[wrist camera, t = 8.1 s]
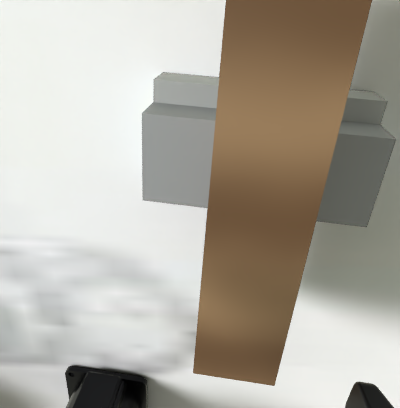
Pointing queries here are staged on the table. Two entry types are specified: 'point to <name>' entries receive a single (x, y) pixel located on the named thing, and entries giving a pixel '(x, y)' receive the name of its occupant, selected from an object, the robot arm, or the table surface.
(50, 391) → the table surface
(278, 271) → the walnut rod
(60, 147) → the table surface
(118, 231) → the table surface
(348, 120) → the ridge block
